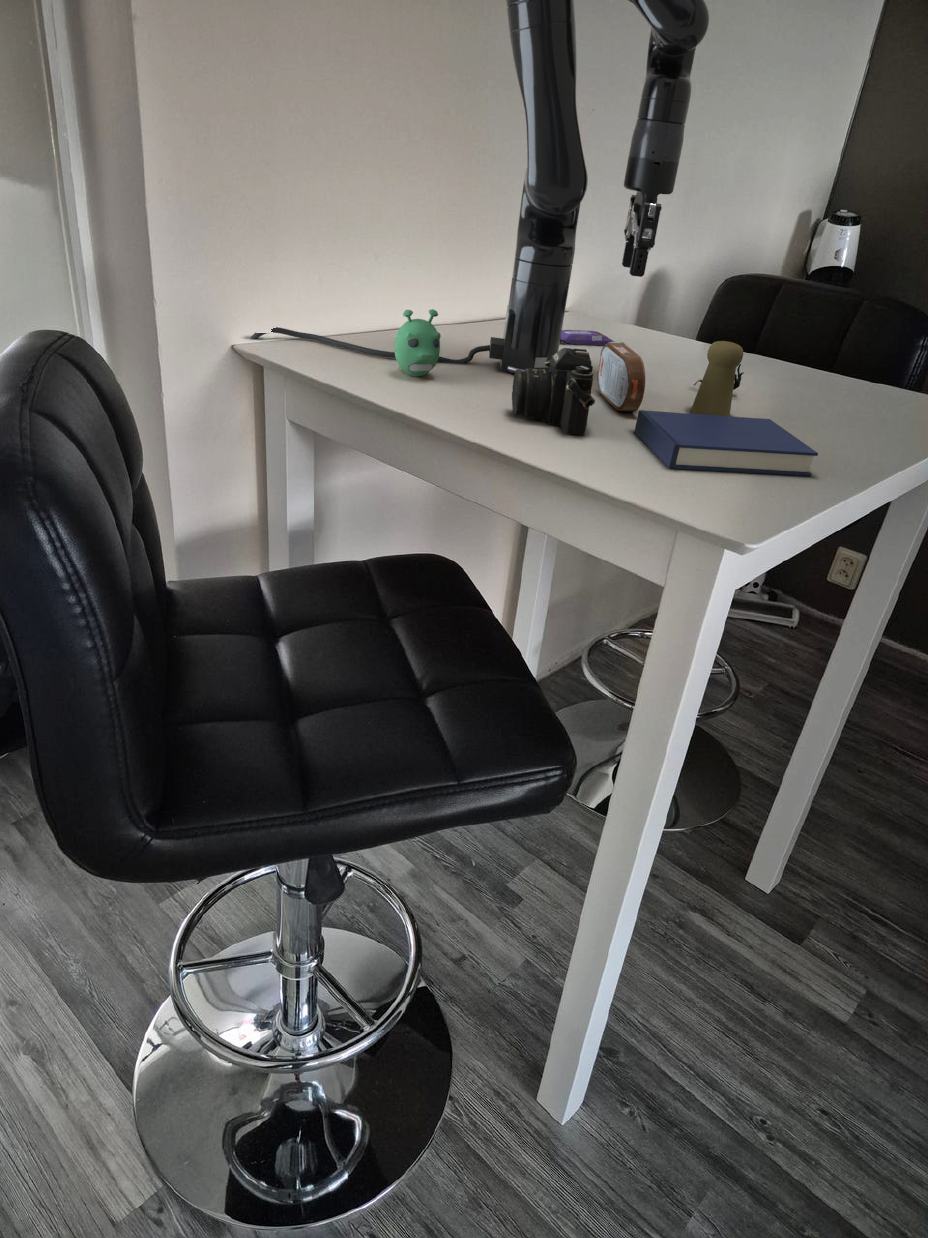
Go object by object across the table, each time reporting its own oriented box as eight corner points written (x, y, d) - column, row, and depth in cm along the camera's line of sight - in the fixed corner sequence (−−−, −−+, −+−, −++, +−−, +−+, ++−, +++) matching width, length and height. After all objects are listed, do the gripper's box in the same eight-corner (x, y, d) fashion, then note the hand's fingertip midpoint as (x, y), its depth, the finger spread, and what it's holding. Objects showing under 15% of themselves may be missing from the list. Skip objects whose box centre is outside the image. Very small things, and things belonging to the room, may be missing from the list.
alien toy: (403, 383, 132) (408, 314, 127) (386, 369, 138) (390, 302, 133) (446, 383, 135) (453, 315, 130) (427, 369, 141) (433, 304, 136)
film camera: (486, 398, 130) (494, 329, 125) (560, 399, 134) (571, 332, 129) (536, 440, 116) (548, 364, 111) (617, 439, 120) (633, 366, 115)
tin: (640, 419, 130) (652, 362, 126) (620, 418, 129) (632, 360, 125) (609, 389, 143) (619, 336, 138) (590, 388, 142) (600, 335, 138)
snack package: (562, 334, 166) (551, 328, 170) (560, 344, 167) (550, 338, 171) (616, 336, 170) (604, 330, 174) (614, 346, 171) (602, 340, 175)
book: (668, 468, 112) (674, 444, 110) (633, 432, 124) (638, 409, 122) (810, 476, 116) (818, 453, 114) (763, 440, 128) (770, 418, 126)
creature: (693, 401, 146) (743, 399, 145) (694, 369, 144) (745, 366, 142) (692, 390, 153) (740, 387, 151) (693, 358, 151) (741, 355, 149)
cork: (706, 421, 133) (725, 347, 127) (682, 408, 138) (699, 337, 132) (737, 420, 135) (757, 347, 130) (713, 408, 140) (731, 337, 135)
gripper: (622, 151, 137) (603, 262, 145) (636, 155, 124) (614, 275, 133) (670, 157, 137) (648, 267, 145) (688, 161, 125) (663, 281, 133)
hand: (632, 271), depth 139 cm, fingers open, 8 cm apart
